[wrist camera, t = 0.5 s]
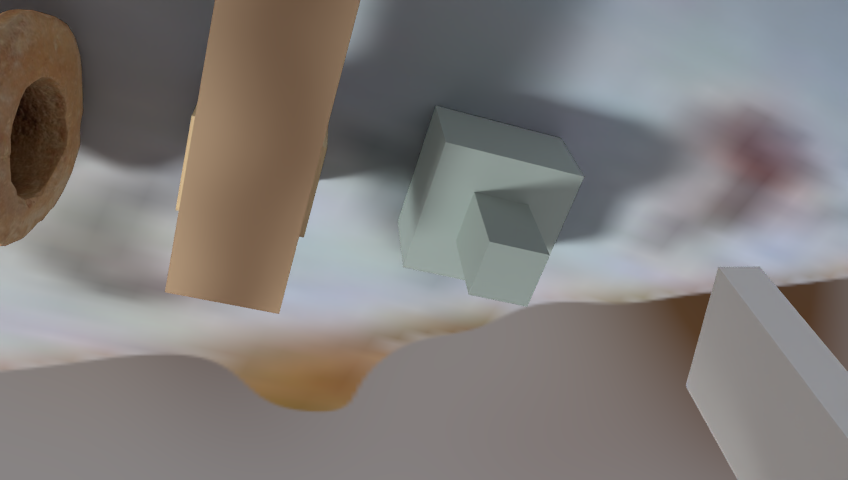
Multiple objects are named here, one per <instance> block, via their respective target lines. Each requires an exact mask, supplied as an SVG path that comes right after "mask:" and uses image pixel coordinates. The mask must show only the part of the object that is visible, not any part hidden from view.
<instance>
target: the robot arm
mask: <svg viewBox="0 0 848 480" xmlns="http://www.w3.org/2000/svg"><path fill="white" fill-rule="evenodd" d="M686 387H687V389H688V391H689V393H690V395H691V396H692V398H693V400H694V402H695V404H696V405H697V407H698V409H699V411H700V412H701V415H702V416H703V418H704V420H705V422H706V424H707V425H708V427H709V429H710V431H711V433H712V434H713V436H714V438H715V440H716V442H717V444H718V445H719V447H720V449H721V451H722V452H723V454H724V456H725V458H726V460H727V462H728V463H729V465H730V467H731V469H732V471H733V472H734V474H735V476H736V478H737V480H848V372H847V370H846V369H845V368H844V367H843V366H842V365H841V363H840V362H839V361H838V360H837V359H836V357H835V356H834V355H833V354H832V352H830V350H829V349H828V348H827V347H826V345H825V344H824V343H823V342H822V341H821V340H820V338H819V337H818V336H817V335H816V333H815V332H814V331H813V330H812V329H811V327H810V326H809V325H808V324H807V323H806V321H805V320H804V319H803V318H802V317H801V315H800V314H799V313H798V312H797V311H796V309H795V308H794V307H793V306H792V305H791V304H790V302H789V301H788V300H787V299H786V298H785V296H784V295H783V294H782V293H781V292H780V290H779V289H778V288H777V287H776V286H775V284H774V283H773V282H772V281H771V280H770V278H769V277H768V276H767V275H766V274H765V272H764V271H763V270H762V269H761V268H760V267H718V271H717V274H716V278H715V282H714V285H713V289H712V292H711V296H710V300H709V303H708V307H707V311H706V314H705V318H704V321H703V325H702V329H701V333H700V336H699V340H698V343H697V347H696V351H695V354H694V358H693V361H692V365H691V369H690V373H689V376H688V380H687V383H686Z"/></svg>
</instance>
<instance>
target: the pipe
mask: <svg viewBox="0 0 848 480" xmlns="http://www.w3.org/2000/svg"><path fill="white" fill-rule="evenodd" d="M82 114H83V91H82V69H81V57H80V53H79V49H78V46H77V42H76V38H75V37H74V35H73V33H72V32H71V30H70V28H69V27H68V25H67V24H66V23H65V22H63V21H61V20H60V19H58V18H56V17H55V16H51V15H48V14H45V13H42V12H38V11H34V10H24V9H14V10H8V11H5V12H2V13H0V246H6V245H8V244H11V243H13V242H15V241H18V240H20V239H22V238H24V237H25V236H26V235H27V234H28V233H29V232H30V231H31V230H32V229H33V228H34V227H35V225H36V224H37V223H38V222H40V221H42V220H43V219H44V218H45V216H46V215H47V214H48V212H49V211H50V210H51V209H52V208H53V207H54V206H55V204H56V203H57V201H58V199H59V197H60V196H61V194H62V192H63V190H64V188H65V186H66V184H67V182H68V180H69V178H70V175H71V173H72V170H73V167H74V164H75V160H76V157H77V154H78V151H79V147H80V126H81V119H82Z"/></svg>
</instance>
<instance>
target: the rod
mask: <svg viewBox="0 0 848 480" xmlns="http://www.w3.org/2000/svg"><path fill="white" fill-rule="evenodd" d="M359 3H360V0H215V3H214V9H213V14H212V20H211V26H210V32H209V38H208V44H207V49H206V55H205V61H204V67H203V73H202V79H201V84H200V90H199V96H198V102H197V108H196V114H195V120H194V125H193V131H192V137H191V143H190V149H189V155H188V160H187V166H186V172H185V178H184V184H183V190H182V195H181V201H180V207H179V213H178V219H177V225H176V230H175V236H174V242H173V248H172V254H171V260H170V266H169V271H168V277H167V283H166V289H165V292H167V293H172V294H177V295H183V296H188V297H193V298H198V299H204V300H209V301H214V302H220V303H225V304H230V305H235V306H241V307H246V308H251V309H256V310H262V311H267V312H272V313H277V314H279V312H280V308H281V304H282V300H283V296H284V292H285V289H286V285H287V281H288V277H289V273H290V269H291V265H292V262H293V258H294V254H295V250H296V246H297V242H298V238H299V235H300V231H301V227H302V223H303V219H304V215H305V211H306V208H307V204H308V200H309V196H310V192H311V188H312V184H313V181H314V177H315V173H316V169H317V165H318V161H319V157H320V154H321V150H322V146H323V142H324V138H325V134H326V130H327V127H328V123H329V119H330V115H331V111H332V107H333V103H334V100H335V96H336V92H337V88H338V84H339V80H340V76H341V73H342V69H343V65H344V61H345V57H346V53H347V49H348V46H349V42H350V38H351V34H352V30H353V26H354V22H355V19H356V15H357V11H358V7H359Z"/></svg>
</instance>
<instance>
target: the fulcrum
mask: <svg viewBox="0 0 848 480" xmlns="http://www.w3.org/2000/svg"><path fill="white" fill-rule="evenodd" d="M583 179H584V176H583V174H582V172H581V171H580V169H579V167H578V166H577V164H576V162H575V161H574V159H573V157H572V156H571V154H570V152H569V151H568V149H567V147H566V146H565V144H564V142H563V141H562V139H561V138H558V137H554V136H551V135H547V134H543V133H539V132H535V131H531V130H528V129H524V128H520V127H516V126H512V125H508V124H505V123H501V122H497V121H493V120H489V119H485V118H482V117H478V116H474V115H470V114H466V113H462V112H459V111H455V110H451V109H447V108H443V107H439V106H435V109H434V112H433V115H432V118H431V121H430V124H429V127H428V131H427V134H426V137H425V140H424V143H423V146H422V149H421V152H420V155H419V158H418V161H417V164H416V167H415V170H414V173H413V177H412V180H411V183H410V186H409V189H408V192H407V195H406V198H405V201H404V204H403V207H402V210H401V213H400V216H399V219H398V228H399V237H400V245H401V253H402V262H403V267H404V268H409V269H414V270H419V271H423V272H428V273H433V274H438V275H442V276H447V277H452V278H457V279H461V280H465V281H466V285H467V290H468V294H469V295H473V296H478V297H483V298H488V299H493V300H498V301H502V302H507V303H512V304H517V305H522V306H528V304H529V301H530V299H531V297H532V294H533V292H534V290H535V288H536V285H537V283H538V281H539V279H540V276H541V274H542V272H543V270H544V267H545V265H546V263H547V261H548V258H549V256H550V253H551V251H552V249H553V246H554V244H555V242H556V240H557V237H558V235H559V233H560V231H561V228H562V226H563V224H564V222H565V219H566V217H567V215H568V213H569V210H570V208H571V206H572V203H573V201H574V199H575V197H576V194H577V192H578V190H579V188H580V185H581V183H582V181H583Z"/></svg>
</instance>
